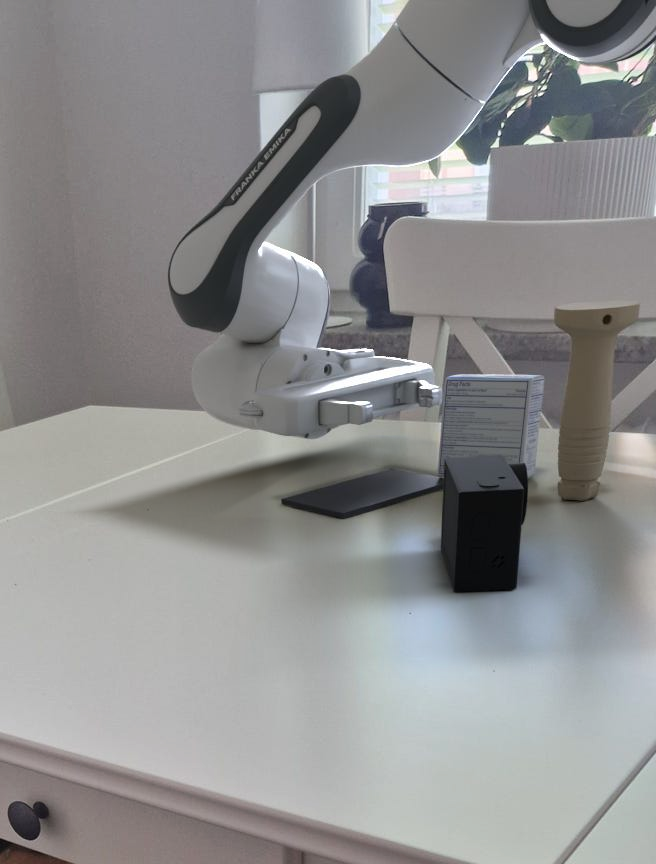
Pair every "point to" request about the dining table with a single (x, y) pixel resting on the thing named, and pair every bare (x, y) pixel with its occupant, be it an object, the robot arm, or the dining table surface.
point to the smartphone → (365, 493)
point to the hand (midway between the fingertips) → (403, 405)
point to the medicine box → (491, 417)
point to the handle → (588, 391)
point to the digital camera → (483, 521)
